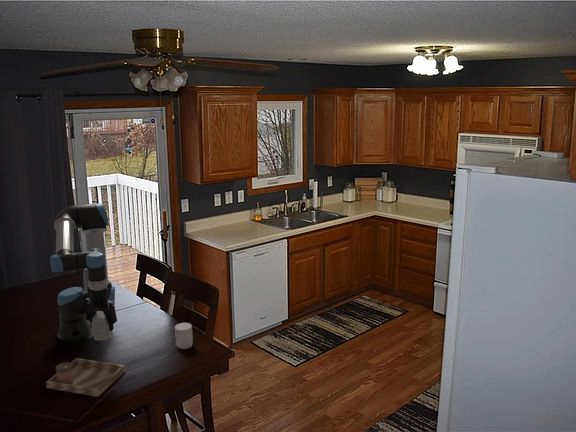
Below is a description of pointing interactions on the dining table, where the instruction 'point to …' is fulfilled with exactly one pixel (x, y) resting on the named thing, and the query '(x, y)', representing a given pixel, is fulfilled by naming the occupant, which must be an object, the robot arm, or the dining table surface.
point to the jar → (65, 373)
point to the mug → (183, 335)
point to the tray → (89, 377)
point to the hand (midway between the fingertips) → (102, 335)
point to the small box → (100, 326)
